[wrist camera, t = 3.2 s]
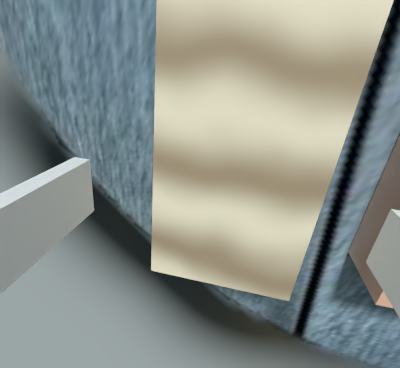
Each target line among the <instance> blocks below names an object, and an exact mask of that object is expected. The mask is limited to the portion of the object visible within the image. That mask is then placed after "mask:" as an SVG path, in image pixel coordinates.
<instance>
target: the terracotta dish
mask: <svg viewBox="0 0 400 368" xmlns="http://www.w3.org/2000/svg"><path fill="white" fill-rule="evenodd" d="M391 209H394V210H400V135H399V137H398V139H397V142H396V144H395V146H394V148H393V151H392V153H391V155H390V158H389V160H388V162H387V164H386V167H385V169H384V171H383V174H382V176H381V178H380V180H379V183H378V185H377V187H376V190H375V192H374V194H373V196H372V199H371V201H370V203H369V206H368V208H367V210H366V212H365V215H364V217H363V219H362V222H361V224H360V226H359V228H358V231H357V233H356V235H355V238H354V240H353V242H352V245H351V247H350V249H349V251H348V252H349V254H350V256H351V258H352V260H353V262H354V264H355V266H356V268H357V270H358V272H359V274H360V276H361V278H362V280H363V282H364V283H365V285H366V287H367V289H368V291H369V293H370V295H371V297H372V299H373V301H374V303H375V305H380V306H384V307H389V308H393V306H392V305H391V303H390V301H389V300H388V298H387V296H386V295H385V293H384V291H383V290H382V288H381V286H380V285H379V283H378V281H377V280H376V278H375V276H374V275H373V273H372V271H371V270H370V268H369V267H368V265H367V263H366V260H367V258H368V256H369V254H370V252H371V250H372V248H373V245H374V243H375V241H376V239H377V237H378V235H379V233H380V231H381V229H382V227H383V224H384V222H385V220H386V218H387V216H388V214H389V212H390V210H391Z"/></svg>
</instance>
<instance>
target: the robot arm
mask: <svg viewBox="0 0 400 368" xmlns="http://www.w3.org/2000/svg"><path fill="white" fill-rule="evenodd" d="M93 211H94V204H93V193H92V181H91V170H90V160H88V159H82V158H76V157H74V158H72V159H70V160H68V161H66V162H64V163H62V164H60V165H58V166H56V167H54V168H52V169H49V170H47V171H46V172H43V173H41V174H39V175H37V176H35V177H33V178H31V179H29V180H27V181H25V182H23V183H21V184H19V185H17V186H15V187H13V188H11V189H9V190H7V191H5V192H3V193H0V294H1V293H2V292H3V291H5V290H6V289H7V288H8V287H9V286H10V285H11V284H12V283H13V282H14V281H16V280H17V279H18V278H19V277H20V276H21V275H22V274H24V273H25V272H26V271H27V270H28V269H29V268H30V267H31V266H33V265H34V264H35V263H36V262H37V261H38V260H39V259H40V258H41V257H43V256H44V255H45V254H46V253H47V252H48V251H49V250H50V249H52V248H53V247H54V246H55V245H56V244H57V243H58V242H59V241H61V240H62V239H63V238H64V237H65V236H66V235H67V234H68V233H69V232H70V231H72V230H73V229H74V228H75V227H76V226H77V225H78V224H80V222H82V221H83V220H84V219H85V218H86V217H87V216H89V215H90V214H91V213H92V212H93ZM366 263H367V265H368V267H369V268H370V270H371V271H372V273H373V275H374V276H375V278H376V280H377V281H378V283H379V285H380V286H381V288H382V290H383V291H384V293H385V295H386V296H387V298H388V300H389V301H390V303H391V305H392V306H393V308H394V309H395V311H396V313H397V314H398V316H399V318H400V210H394V209H391V210H390V212H389V214H388V216H387V218H386V220H385V222H384V224H383V227H382V229H381V231H380V233H379V235H378V237H377V239H376V241H375V243H374V245H373V248H372V250H371V252H370V254H369V256H368V258H367V260H366Z"/></svg>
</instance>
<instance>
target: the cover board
mask: <svg viewBox="0 0 400 368" xmlns="http://www.w3.org/2000/svg"><path fill="white" fill-rule="evenodd" d="M392 3H393V0H157V14H156V62H155V109H154V157H153V204H152V252H151V270H152V271H156V272H160V273H165V274H169V275H174V276H179V277H183V278H187V279H192V280H196V281H201V282H205V283H210V284H214V285H219V286H223V287H227V288H232V289H236V290H241V291H245V292H250V293H254V294H259V295H263V296H268V297H272V298H277V299H281V300H286V301H289V299H290V296H291V294H292V291H293V288H294V285H295V282H296V279H297V276H298V273H299V271H300V268H301V265H302V262H303V259H304V256H305V253H306V250H307V248H308V245H309V242H310V239H311V236H312V233H313V230H314V228H315V225H316V222H317V219H318V216H319V213H320V210H321V207H322V205H323V202H324V199H325V196H326V193H327V190H328V187H329V184H330V182H331V179H332V176H333V173H334V170H335V167H336V164H337V161H338V159H339V156H340V153H341V150H342V147H343V144H344V141H345V138H346V136H347V133H348V130H349V127H350V124H351V121H352V118H353V115H354V113H355V110H356V107H357V104H358V101H359V98H360V95H361V92H362V90H363V87H364V84H365V81H366V78H367V75H368V72H369V69H370V67H371V64H372V61H373V58H374V55H375V52H376V49H377V46H378V44H379V41H380V38H381V35H382V32H383V29H384V26H385V23H386V21H387V18H388V15H389V12H390V9H391V6H392Z"/></svg>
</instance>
